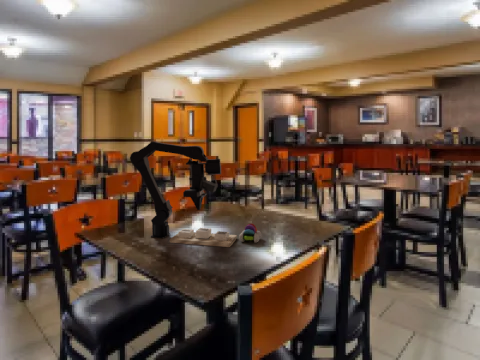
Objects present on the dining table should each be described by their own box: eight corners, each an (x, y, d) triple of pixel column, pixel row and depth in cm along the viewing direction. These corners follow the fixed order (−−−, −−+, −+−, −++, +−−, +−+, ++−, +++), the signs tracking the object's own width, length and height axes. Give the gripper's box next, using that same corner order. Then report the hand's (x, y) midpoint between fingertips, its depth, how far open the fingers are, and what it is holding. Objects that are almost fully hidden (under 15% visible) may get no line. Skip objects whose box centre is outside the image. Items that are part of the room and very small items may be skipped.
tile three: (214, 241, 144) (214, 234, 143) (218, 237, 149) (217, 230, 148) (226, 242, 143) (226, 234, 142) (229, 238, 147) (229, 231, 147)
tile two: (196, 237, 145) (196, 230, 145) (200, 234, 150) (200, 227, 150) (207, 238, 144) (207, 231, 144) (211, 235, 149) (211, 228, 149)
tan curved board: (169, 242, 144) (169, 239, 144) (180, 234, 156) (180, 231, 156) (229, 247, 139) (229, 243, 139) (236, 238, 150) (236, 235, 150)
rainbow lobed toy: (262, 238, 151) (262, 222, 150) (257, 245, 142) (257, 227, 141) (243, 236, 153) (243, 220, 153) (237, 243, 144) (237, 226, 143)
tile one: (178, 238, 147) (178, 231, 147) (183, 235, 152) (182, 228, 152) (189, 239, 146) (189, 232, 146) (193, 236, 151) (193, 229, 151)
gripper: (207, 177, 139) (208, 215, 141) (221, 172, 157) (222, 206, 159) (181, 177, 142) (183, 214, 144) (199, 172, 160) (200, 205, 162)
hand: (198, 209), depth 152 cm, fingers closed
